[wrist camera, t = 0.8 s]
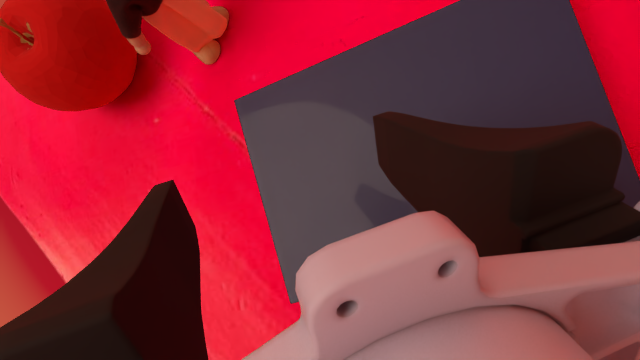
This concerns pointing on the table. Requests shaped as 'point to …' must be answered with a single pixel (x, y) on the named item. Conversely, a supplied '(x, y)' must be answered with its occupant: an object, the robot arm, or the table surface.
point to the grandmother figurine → (173, 24)
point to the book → (412, 112)
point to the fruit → (64, 53)
